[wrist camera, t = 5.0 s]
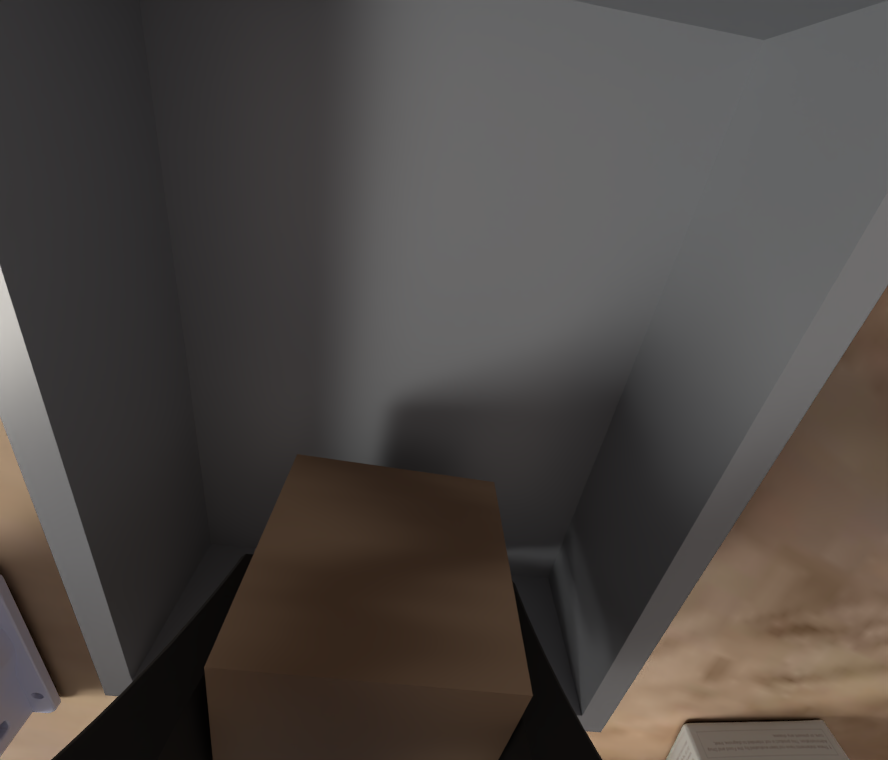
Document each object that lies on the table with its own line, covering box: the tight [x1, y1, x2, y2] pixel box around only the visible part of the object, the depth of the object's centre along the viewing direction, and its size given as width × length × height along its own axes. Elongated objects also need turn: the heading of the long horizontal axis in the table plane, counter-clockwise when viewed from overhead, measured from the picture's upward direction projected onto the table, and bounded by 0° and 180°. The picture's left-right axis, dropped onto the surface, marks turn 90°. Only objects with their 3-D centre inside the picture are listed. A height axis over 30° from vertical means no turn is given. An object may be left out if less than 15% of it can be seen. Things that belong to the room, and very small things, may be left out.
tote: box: [0, 0, 888, 732], centre depth 10 cm, size 18×14×5 cm
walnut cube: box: [204, 454, 533, 760], centre depth 10 cm, size 5×5×5 cm
